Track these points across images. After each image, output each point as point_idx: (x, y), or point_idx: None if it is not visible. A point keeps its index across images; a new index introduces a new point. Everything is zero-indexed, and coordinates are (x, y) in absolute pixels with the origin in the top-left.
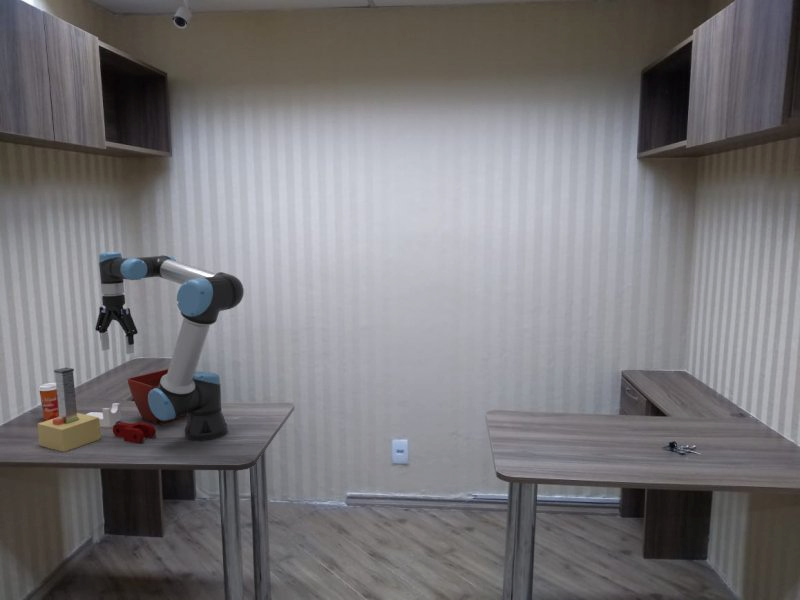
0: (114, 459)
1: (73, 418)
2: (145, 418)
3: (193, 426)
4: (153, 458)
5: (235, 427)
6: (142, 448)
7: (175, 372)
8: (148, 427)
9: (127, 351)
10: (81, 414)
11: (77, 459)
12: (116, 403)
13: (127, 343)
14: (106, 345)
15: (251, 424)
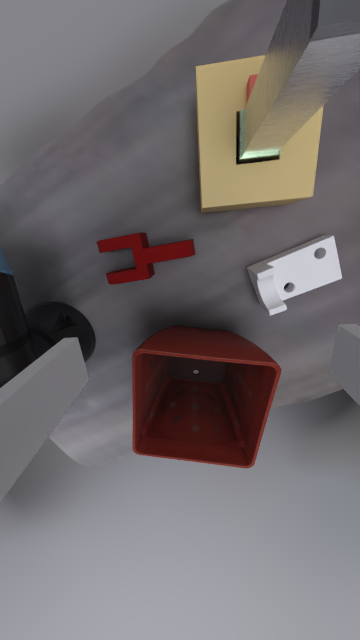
0: (63, 154)
1: (240, 140)
2: (217, 330)
3: (31, 314)
4: (13, 206)
5: None
6: (78, 228)
7: None
8: (110, 273)
9: (54, 346)
10: (273, 195)
11: (125, 99)
12: (278, 311)
13: (7, 390)
14: (354, 372)
15: None
